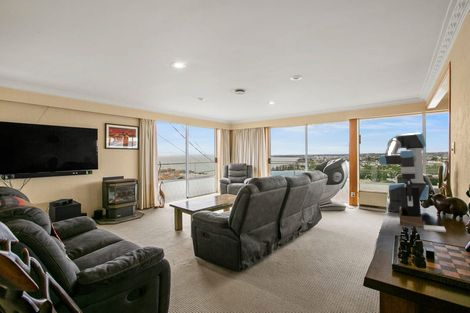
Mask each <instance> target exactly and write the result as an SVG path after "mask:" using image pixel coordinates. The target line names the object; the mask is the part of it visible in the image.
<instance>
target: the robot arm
mask: <svg viewBox="0 0 470 313" xmlns="http://www.w3.org/2000/svg"><path fill="white" fill-rule="evenodd" d="M425 139H426V138H425V136H424V134H423V133H422V132H415V133H403V134H399V135H395V136H393V137H392V138H391V139H389V140H388V142H387V144H386V145H387V148H386V150H385V152H384V154H380V155H379V157H378V162H379V165H380V166H393V165H394V166H395V165H397V166H398V165H400V166H401V168H400V170H401V171H400V172H401V179H402V180H406V181H405V182H400V183H399V182H398V183H397V182H396V183H392V184H389V185H388V194H389V195H388V196H389V197H388V198H389V199H388V200H389V203H388V206H387V212H390V211H392V212H391V213H397V212H399V209H400V207H401V209H402V203H401V189H400V187H405V186H406V187H407V195H406V196H407V200H408V206H413V198H412V186H414V187H419V196H420V201H425V200H428V198H429V190H430V188H429V184H428V185H427V182H425V181H424V168H423V153H422V152H423V150H424V149H425V147H427V144H426V140H425ZM399 149H405V150H401V151H400V152H399V153H400V154H399V153H398V151H399Z"/></svg>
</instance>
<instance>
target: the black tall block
mask: <svg viewBox="0 0 470 313" xmlns="http://www.w3.org/2000/svg"><path fill="white" fill-rule="evenodd" d="M400 189H401V203H402V216H413V217H421V216H422V212H421V211H422V210H421V209H422V208H421V200H420V196H419V187H414V186H412V198H413V206H408V200H407V196H406V195H407V187H406V186H405V187H400Z"/></svg>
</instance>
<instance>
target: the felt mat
mask: <svg viewBox="0 0 470 313" xmlns="http://www.w3.org/2000/svg"><path fill="white" fill-rule="evenodd" d="M423 231H430V232H438V233H439V232H440V233H447V230H446V228H445V226H439V225H429V224H423Z"/></svg>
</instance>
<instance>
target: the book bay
mask: <svg viewBox="0 0 470 313" xmlns="http://www.w3.org/2000/svg"><path fill="white" fill-rule="evenodd" d="M398 214H399V225H401V226H409V227H420V228H422V227H423V228H424V224H423V216H422V215H421V217H413V216H402V209H401V207H400V209H399V213H398Z"/></svg>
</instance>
